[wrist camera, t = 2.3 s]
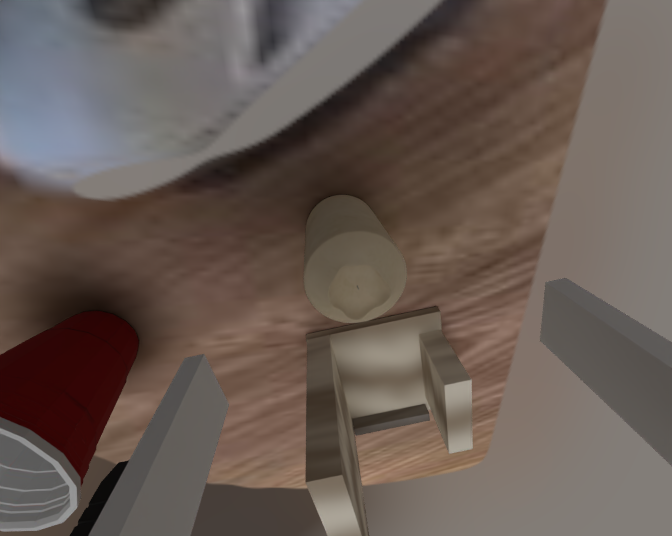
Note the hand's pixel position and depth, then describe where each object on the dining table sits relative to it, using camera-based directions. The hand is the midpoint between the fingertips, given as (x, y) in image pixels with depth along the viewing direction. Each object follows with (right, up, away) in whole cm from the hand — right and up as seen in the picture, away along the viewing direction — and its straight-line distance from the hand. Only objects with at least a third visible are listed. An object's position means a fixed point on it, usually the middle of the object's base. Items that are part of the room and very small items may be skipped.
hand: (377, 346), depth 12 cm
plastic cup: (-22, -3, +15) cm, 26 cm away
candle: (-1, +6, +12) cm, 14 cm away
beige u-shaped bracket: (+3, -7, +19) cm, 20 cm away
